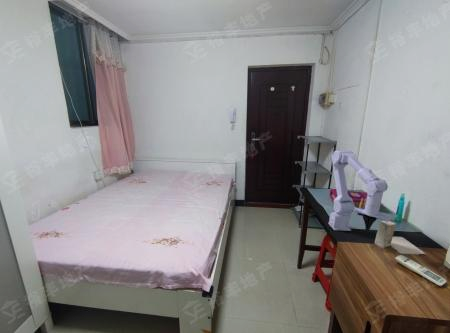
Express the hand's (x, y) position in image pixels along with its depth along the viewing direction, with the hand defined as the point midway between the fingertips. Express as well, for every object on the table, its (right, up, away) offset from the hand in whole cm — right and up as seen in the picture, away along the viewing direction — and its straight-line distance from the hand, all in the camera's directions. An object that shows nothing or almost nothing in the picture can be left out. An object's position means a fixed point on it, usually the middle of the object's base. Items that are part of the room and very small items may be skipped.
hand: (367, 229), depth 106 cm
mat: (+18, -8, +2) cm, 20 cm away
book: (+24, +3, +53) cm, 58 cm away
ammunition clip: (+21, -1, +33) cm, 39 cm away
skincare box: (+9, -8, +2) cm, 12 cm away
